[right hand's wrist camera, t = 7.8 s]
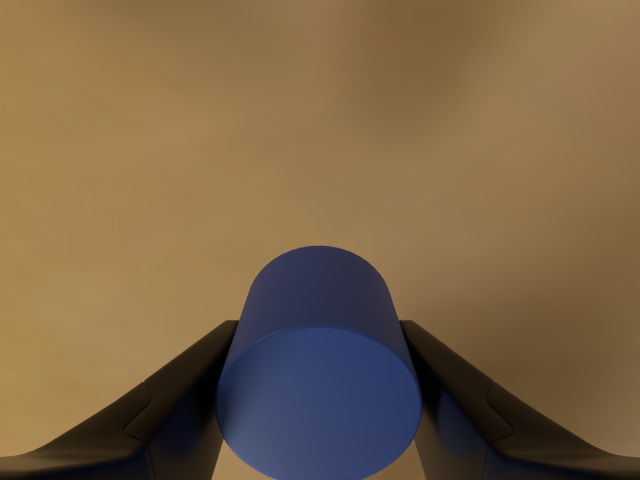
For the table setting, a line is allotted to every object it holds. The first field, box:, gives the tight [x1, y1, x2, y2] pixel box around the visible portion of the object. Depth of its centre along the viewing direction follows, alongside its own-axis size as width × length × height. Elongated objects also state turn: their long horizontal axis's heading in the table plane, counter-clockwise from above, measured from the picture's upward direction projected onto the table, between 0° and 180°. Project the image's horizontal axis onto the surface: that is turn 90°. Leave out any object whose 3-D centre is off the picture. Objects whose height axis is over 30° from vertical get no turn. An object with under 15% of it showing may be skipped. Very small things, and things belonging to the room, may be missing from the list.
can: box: [215, 246, 423, 480], centre depth 10 cm, size 4×4×4 cm
